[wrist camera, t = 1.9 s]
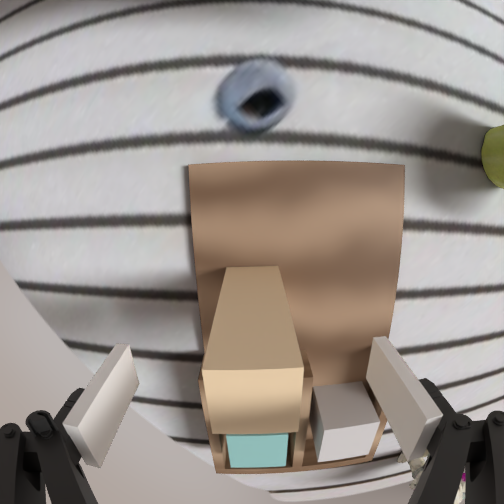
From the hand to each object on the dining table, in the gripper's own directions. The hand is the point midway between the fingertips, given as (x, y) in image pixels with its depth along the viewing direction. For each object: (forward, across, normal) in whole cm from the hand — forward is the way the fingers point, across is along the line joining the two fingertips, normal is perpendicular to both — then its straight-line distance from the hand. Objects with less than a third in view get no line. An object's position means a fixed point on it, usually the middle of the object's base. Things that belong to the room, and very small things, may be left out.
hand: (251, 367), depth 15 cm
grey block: (+10, +8, -12) cm, 18 cm away
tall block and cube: (+10, 0, -6) cm, 12 cm away
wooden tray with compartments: (+10, +4, -4) cm, 12 cm away
